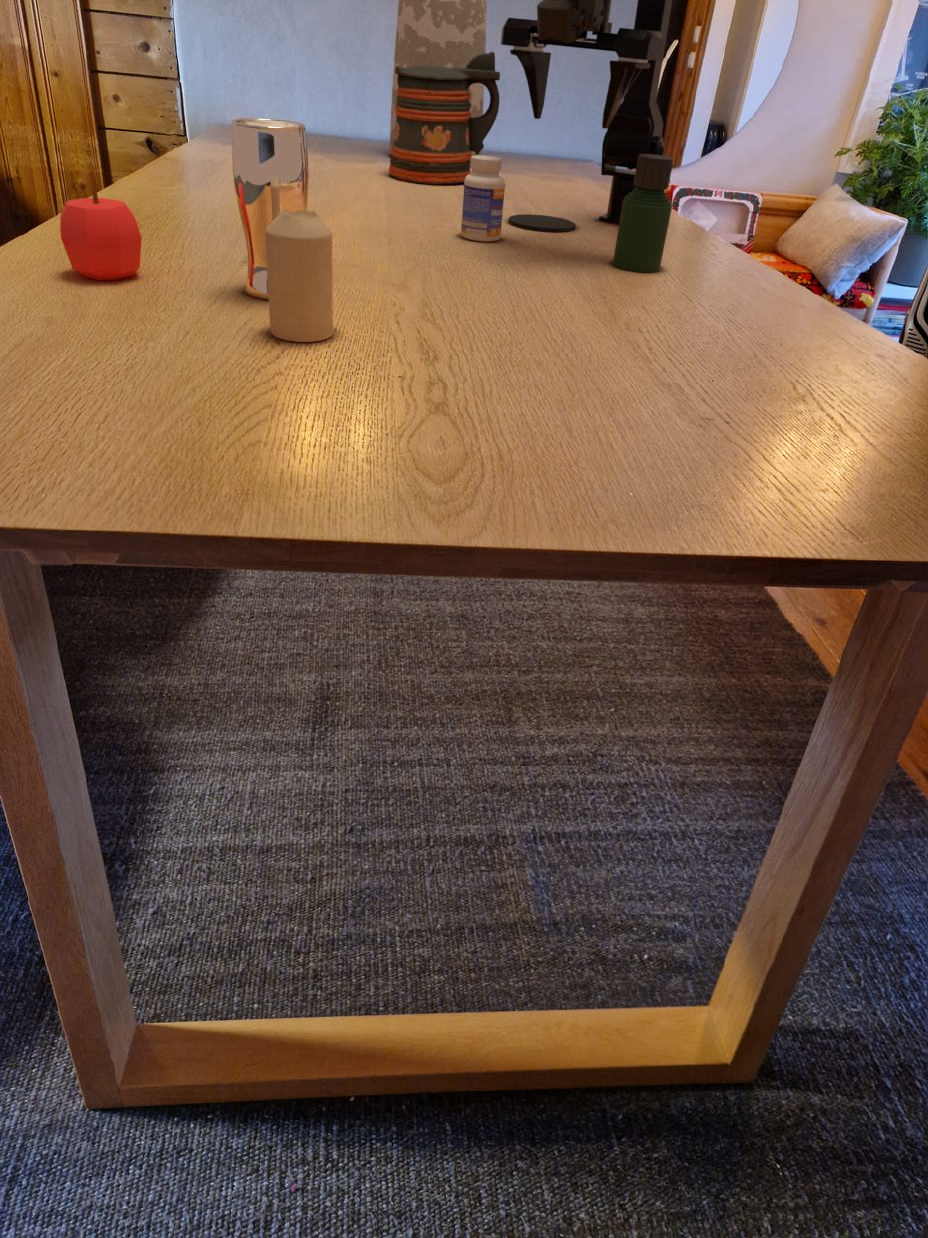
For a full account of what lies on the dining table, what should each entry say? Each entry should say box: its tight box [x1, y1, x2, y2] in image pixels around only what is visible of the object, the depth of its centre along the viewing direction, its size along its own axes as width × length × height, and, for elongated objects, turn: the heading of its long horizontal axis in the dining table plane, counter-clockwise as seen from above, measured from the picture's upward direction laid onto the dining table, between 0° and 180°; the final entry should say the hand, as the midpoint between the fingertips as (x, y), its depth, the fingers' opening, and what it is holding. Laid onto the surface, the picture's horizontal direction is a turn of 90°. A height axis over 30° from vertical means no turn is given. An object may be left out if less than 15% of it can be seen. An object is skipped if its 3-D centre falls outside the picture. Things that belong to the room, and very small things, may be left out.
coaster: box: [507, 213, 577, 233], centre depth 128 cm, size 10×10×1 cm
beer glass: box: [231, 117, 310, 301], centre depth 83 cm, size 7×7×15 cm
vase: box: [389, 0, 488, 162], centre depth 167 cm, size 20×19×38 cm
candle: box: [265, 209, 334, 343], centre depth 74 cm, size 6×6×10 cm
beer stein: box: [388, 51, 501, 186], centre depth 151 cm, size 19×15×20 cm
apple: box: [59, 187, 142, 281], centre depth 86 cm, size 8×8×8 cm
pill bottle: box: [460, 154, 506, 242], centre depth 114 cm, size 5×5×10 cm
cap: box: [634, 154, 674, 191], centre depth 104 cm, size 4×4×3 cm
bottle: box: [612, 187, 673, 273], centre depth 107 cm, size 6×6×12 cm
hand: (570, 123), depth 106 cm, fingers open, 9 cm apart
